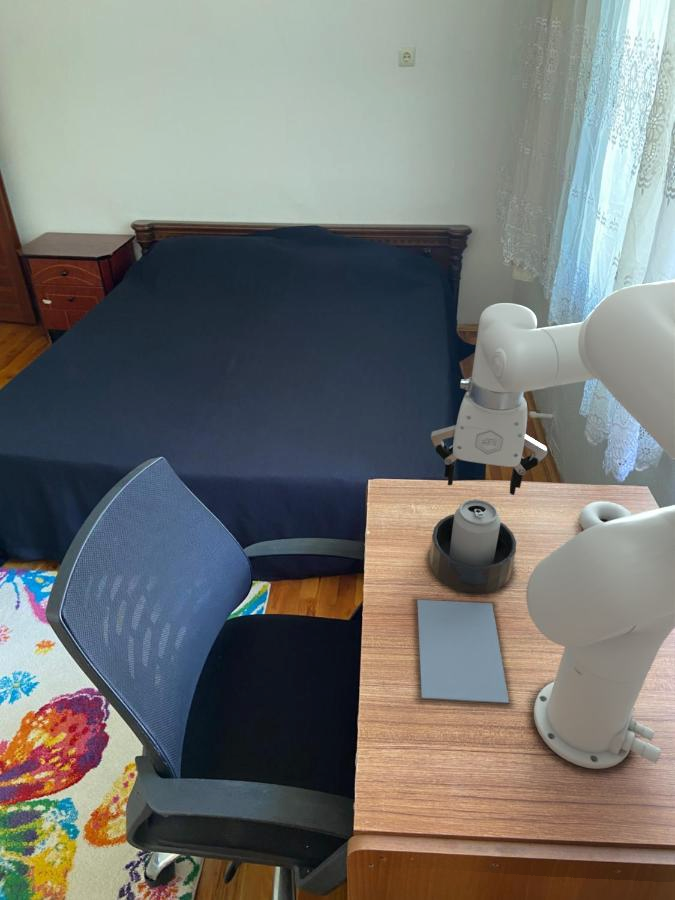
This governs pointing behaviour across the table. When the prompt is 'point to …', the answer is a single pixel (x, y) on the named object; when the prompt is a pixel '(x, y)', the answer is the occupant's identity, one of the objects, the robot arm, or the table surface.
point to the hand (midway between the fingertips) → (481, 484)
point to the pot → (469, 575)
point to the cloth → (460, 652)
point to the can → (475, 533)
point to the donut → (601, 513)
